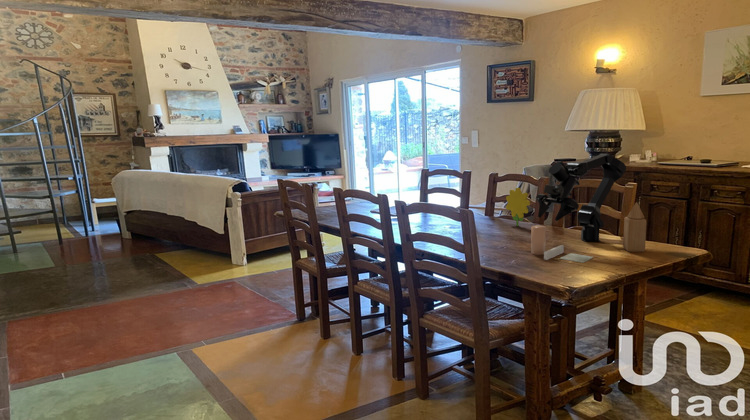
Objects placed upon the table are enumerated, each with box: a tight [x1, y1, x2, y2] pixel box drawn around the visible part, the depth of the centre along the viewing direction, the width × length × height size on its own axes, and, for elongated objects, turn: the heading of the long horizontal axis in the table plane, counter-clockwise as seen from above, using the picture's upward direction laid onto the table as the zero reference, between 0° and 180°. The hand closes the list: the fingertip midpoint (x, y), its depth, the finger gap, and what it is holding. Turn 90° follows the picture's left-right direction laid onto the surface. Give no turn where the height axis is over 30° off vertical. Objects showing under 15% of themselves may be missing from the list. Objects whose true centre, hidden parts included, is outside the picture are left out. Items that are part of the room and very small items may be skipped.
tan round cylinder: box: [530, 224, 547, 256], centre depth 198 cm, size 6×6×11 cm
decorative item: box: [505, 187, 531, 227], centre depth 252 cm, size 16×1×20 cm, turn 30°
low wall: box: [543, 244, 565, 261], centre depth 193 cm, size 14×1×3 cm, turn 133°
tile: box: [559, 253, 594, 264], centre depth 189 cm, size 9×9×1 cm
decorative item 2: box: [622, 201, 647, 253], centre depth 196 cm, size 7×7×20 cm
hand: (547, 218), depth 202 cm, fingers open, 9 cm apart
